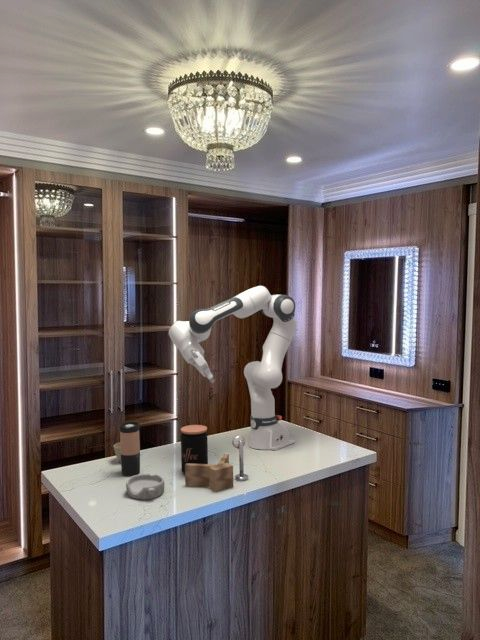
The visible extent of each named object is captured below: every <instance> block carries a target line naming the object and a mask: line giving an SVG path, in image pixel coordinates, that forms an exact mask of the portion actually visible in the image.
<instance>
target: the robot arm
mask: <svg viewBox="0 0 480 640" xmlns="http://www.w3.org/2000/svg"><path fill="white" fill-rule="evenodd" d="M259 311H260V312H261V314H263V316H265V317H267V318H272V320H273V323H272V327H271V328H270V331H269V333H268V335H267V337H266V339H265V341H264V343H263V345H262V356H261V361H259V360H256V361H250V362H248V363H247V364H246V365H245V366H244V369H243V375H244V377H245V379H246V383H247V387H248V391H249V396H250V409H251V410H250V412H251V414H250V419H249V420H250V422H249V423H250V433H249V434H250V436H249V439H248V444H247V445H248V447H249V448H252V449H254V450H255V449H256V450H265V451H266V450H270V451H271V450H272V451H277V450H280V449H282V448H285V447H288V446H290V445H292V444H295V440H294V439H293V438H291V437H290V432H289V429H288V428H286V426H284V425H283V424H281V423H280V422H279V421H281V420H282V418H283V416H282V415H279V414H278V415H277V414H276V413H275V410H276V409H275V408H276V407H275V397H274V395H273V391H272V390H271V389H277V388H278V387H279V386H280V385H281V384H282V382H283V372H282V369H283V363H284V359H285V356H286V353H287V351H288V349H289V347H290V345H291V342H292V340H293V339H294V335H295V331H296V328H297V321H296V320H295V319H294V317H295V312H296V301H295V300H294V299H293V298H292V297H291V296H290V295H287V294H271V293H270V291H269V289H268V288H267V287H266V286H264V285H257V286H254V287H251V288H249V289H247V290H245V291H243V292H240V293H238V294H236V295H235V296H233V297H231V298H228V299H226V300H224V301H222V302H219V303H217V304H215V305H213V306H211V307H207V308H199V309H196V310H194V311H193V312H192V313H191V314H190V315H189V318H188V321H187V320H185V321H184V320H183V321H182V320H177V321H175V322H174V323H173V324H172V325H171V326H170V327H169V329H168V336H169V337H170V340H171V342H172V343H173V345H174V346H175V348H177V349H178V350H179V351H180V355H181V356H182V357H183V359H184V360H185V361H186V363H187V364H190V365H191V366H193V367H195V369H196V370H197V371H198V372H199V373H200V374H201V375H202V377H204V378H207V379H208V380H209V382H210V383H211V384H212V383H214V382H215V379H214V375H213V374H212V371H211V369H210V366H209V364H208V363H207V361H206V359H205V349H204V348H203V347H202V346H201V344H200V343H202V342H204V341H206V340H208V338H210V335H211V332H212V327H213V325H214V324H215V323H216V322H218V321H219V320H222V319H224V318H226V317H228V316H230V315H233V316H235V317H236V318H238V319H245V318H248V317H250V316H252V315H254V314H256V313H257V312H259ZM278 420H279V421H278Z"/></svg>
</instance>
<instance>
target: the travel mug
mask: <svg viewBox="0 0 480 640" xmlns="http://www.w3.org/2000/svg"><path fill="white" fill-rule="evenodd" d="M119 435H120V436H119V438H120V439H119V441H120V442H119V443H120V451H121V462H120V465H121V466H120V467H121V475H122V477H129V478H130V477H132V476H135V475H140V473H141V443H140V441H141V440H140V423H139V422H137V421H128V422H122V423H120V424H119Z"/></svg>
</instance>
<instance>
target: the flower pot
mask: <svg viewBox="0 0 480 640" xmlns="http://www.w3.org/2000/svg"><path fill="white" fill-rule="evenodd" d="M113 450H114V453H115V456H116V458H117V460H118V461H119V462H120V463H121V451H120V442H116V443H115V444H114V445H113Z"/></svg>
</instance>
